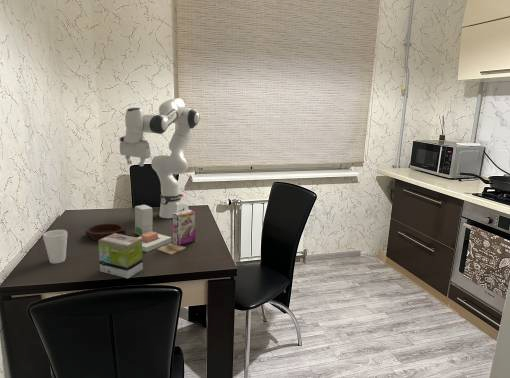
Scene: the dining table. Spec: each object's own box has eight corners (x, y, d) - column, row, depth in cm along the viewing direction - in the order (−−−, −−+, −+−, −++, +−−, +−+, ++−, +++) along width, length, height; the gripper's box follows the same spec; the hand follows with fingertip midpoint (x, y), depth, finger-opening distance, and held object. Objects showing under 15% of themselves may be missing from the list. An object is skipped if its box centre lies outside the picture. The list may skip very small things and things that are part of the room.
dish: (120, 243, 186) (120, 234, 185) (77, 242, 186) (76, 233, 184) (131, 232, 203) (131, 223, 202) (92, 231, 203) (91, 222, 201)
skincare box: (134, 233, 201) (133, 206, 197) (145, 230, 206) (144, 204, 202) (142, 237, 195) (141, 209, 192) (153, 234, 200) (152, 207, 197)
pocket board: (152, 236, 196) (152, 232, 196) (171, 241, 190) (171, 237, 189) (127, 245, 182) (127, 241, 182) (146, 252, 175) (146, 247, 175)
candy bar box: (177, 246, 184) (177, 215, 180) (172, 243, 187) (172, 213, 184) (196, 241, 192) (195, 211, 188) (190, 238, 195) (190, 209, 192)
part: (151, 241, 190) (151, 231, 189) (158, 243, 188) (157, 233, 186) (141, 245, 184) (141, 235, 183) (147, 247, 182) (147, 236, 181)
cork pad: (171, 244, 186) (171, 243, 186) (185, 248, 181) (185, 247, 181) (156, 250, 178) (156, 249, 178) (171, 254, 173) (171, 253, 173)
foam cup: (66, 263, 160) (64, 236, 157) (43, 265, 157) (40, 237, 154) (71, 255, 169) (68, 229, 166) (48, 257, 166) (46, 230, 163)
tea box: (99, 272, 152) (97, 239, 149) (116, 263, 162) (114, 232, 158) (128, 279, 147) (126, 245, 144) (143, 269, 157) (142, 237, 153)
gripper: (153, 140, 187) (153, 166, 190) (126, 137, 198) (127, 162, 201) (143, 140, 182) (144, 167, 185) (117, 138, 193) (118, 163, 195)
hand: (135, 165), depth 193 cm, fingers open, 8 cm apart
